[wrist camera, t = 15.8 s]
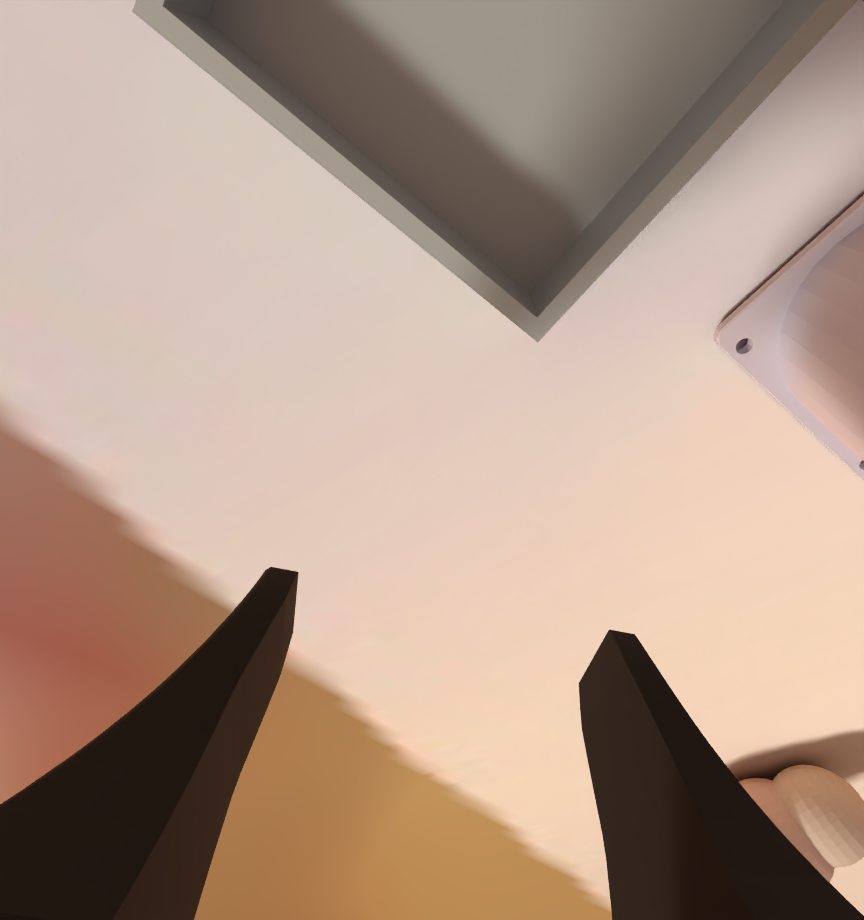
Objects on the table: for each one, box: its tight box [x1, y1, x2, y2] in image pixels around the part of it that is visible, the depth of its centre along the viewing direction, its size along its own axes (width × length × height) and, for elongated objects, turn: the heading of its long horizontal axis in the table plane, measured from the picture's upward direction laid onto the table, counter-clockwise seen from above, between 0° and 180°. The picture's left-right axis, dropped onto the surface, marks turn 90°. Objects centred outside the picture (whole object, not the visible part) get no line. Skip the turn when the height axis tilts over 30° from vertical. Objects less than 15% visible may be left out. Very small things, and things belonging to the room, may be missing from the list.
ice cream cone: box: [738, 765, 864, 882], centre depth 31 cm, size 6×6×15 cm
